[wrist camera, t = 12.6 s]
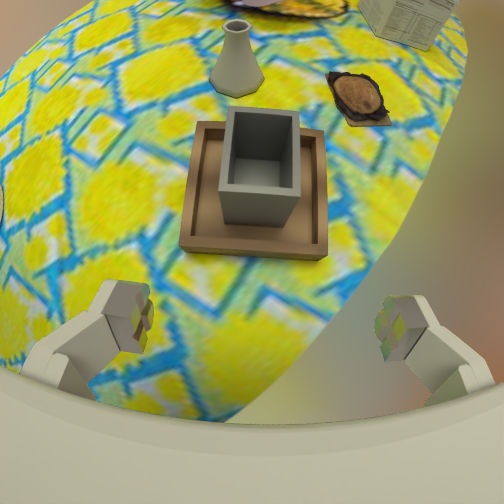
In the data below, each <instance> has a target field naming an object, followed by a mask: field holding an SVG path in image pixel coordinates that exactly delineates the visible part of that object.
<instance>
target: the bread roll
mask: <svg viewBox="0 0 504 504" xmlns="http://www.w3.org/2000/svg"><path fill="white" fill-rule="evenodd" d="M325 76H326V79H327V82H328V85H329V87H330V90H331V92H332V94H333V96H334V98H335V102H336V104H337V107H338V109H339V110H340V111H341V112H342V114H343V116H344V117H345V119H346V121H347V123H348V124H349V126H351V127H363V126H391V125H392V123H391V120H390V118H389V116H388V113H389V111H388V110H386V109H385V107H384V105H383V103H384V102H383V101H384V100H383V96H382V95H381V93H380V90H379V86H378V84H377V83H376V82H375V81H374V80H372V79H371V78H370V77H369V76H367V75H364V74H360V75H357V74H350V73H349V72H344V73H340V72H331V71H330V72H329V74H325ZM387 112H388V113H387Z"/></svg>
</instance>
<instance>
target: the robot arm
mask: <svg viewBox="0 0 504 504" xmlns="http://www.w3.org/2000/svg"><path fill="white" fill-rule="evenodd" d="M2 211H3V192H2V188H1V185H0V223H1V218H2ZM149 294H150V289H149V286H148V284H146V283H139V282H131V281H123V280H113V279H106V280H105V281H104V282H103V283H102V285H101V287H100V289H99V290H98V292H97V294H96V296H95V298H94V299H93V301H92V303H91V305H90V307H89V309H88V311H87V312H86V311H83V312H81V313H80V314H78V315H77V316H75V317H74V318H72V319H71V320H69V321H68V322H66V323H65V324H63V325H62V326H60V327H59V328H57V329H56V330H54V331H53V332H51V333H50V334H48V335H47V336H45V337H44V338H42V339H41V340H40V341H38V342H37V343H35V344H34V345H33V347H32V349H31V351H30V353H29V355H28V357H27V359H26V361H25V363H24V365H23V367H22V369H21V371H20V373H19V374H18V373H16V372H14V371H11V370H9V369H7V368H5V367H3V366H1V365H0V504H504V382H501V383H499V384H495V382H494V380H493V377H492V375H491V373H490V371H489V368H488V366H487V364H486V362H485V360H484V359H483V358H482V357H481V356H480V355H478V354H477V353H476V352H475V351H474V350H472V349H471V348H470V347H469V346H468V345H466V344H465V343H464V342H463V341H461V340H460V339H459V338H458V337H456V336H455V335H454V334H453V333H451V332H450V331H449V330H448V329H446V328H445V327H444V326H442V327H441V326H440V324H439V322H438V321H437V319H436V317H435V315H434V313H433V311H432V309H431V308H430V306H429V304H428V302H427V300H426V299H425V297H424V296H422V295H411V296H387V297H386V298H385V300H384V302H383V307H384V309H382V310H381V311H380V312H379V313H378V314H377V317H376V319H375V325H374V327H375V334H376V336H377V338H378V339H379V340H380V341H381V342H382V344H381V346H380V348H381V351H382V354H383V357H384V360H385V362H388V361H401V360H404V362H405V363H406V364H407V366H408V367H409V368H410V369H411V370H412V371H413V372H414V373H415V374H416V375H417V377H418V378H419V379H420V380H421V381H422V382H423V383H424V385H425V386H426V387H427V388H428V389H429V390H430V391H431V392H432V395H431V396H430V397H429V398H428V399H427V400H426V401H425V403H424V406H425V407H423V408H418V409H414V410H410V411H405V412H400V413H395V414H389V415H384V416H378V417H371V418H364V419H357V420H348V421H338V422H327V423H313V424H287V425H259V424H258V425H257V424H233V423H219V422H208V421H198V420H189V419H182V418H174V417H168V416H162V415H156V414H150V413H145V412H140V411H135V410H130V409H126V408H121V407H117V406H113V405H109V404H105V403H101V402H98V401H96V396H95V394H94V393H93V392H92V390H91V389H90V388H89V386H88V385H87V384H88V383H89V382H90V381H91V380H92V379H93V378H94V377H95V376H96V375H97V374H98V373H99V372H100V371H101V370H102V369H103V368H104V367H105V366H106V365H107V364H108V363H109V362H111V361H112V360H113V359H114V358H115V357H116V356H117V355H118V354H119V353H120V351H125V352H132V353H139V354H143V352H144V349H145V346H146V342H147V339H148V338H147V335H146V332H147V331H148V330H150V329H151V327H152V323H153V317H154V307H153V303H152V301H151V300H150V299H149V298H148V297H149Z"/></svg>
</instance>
